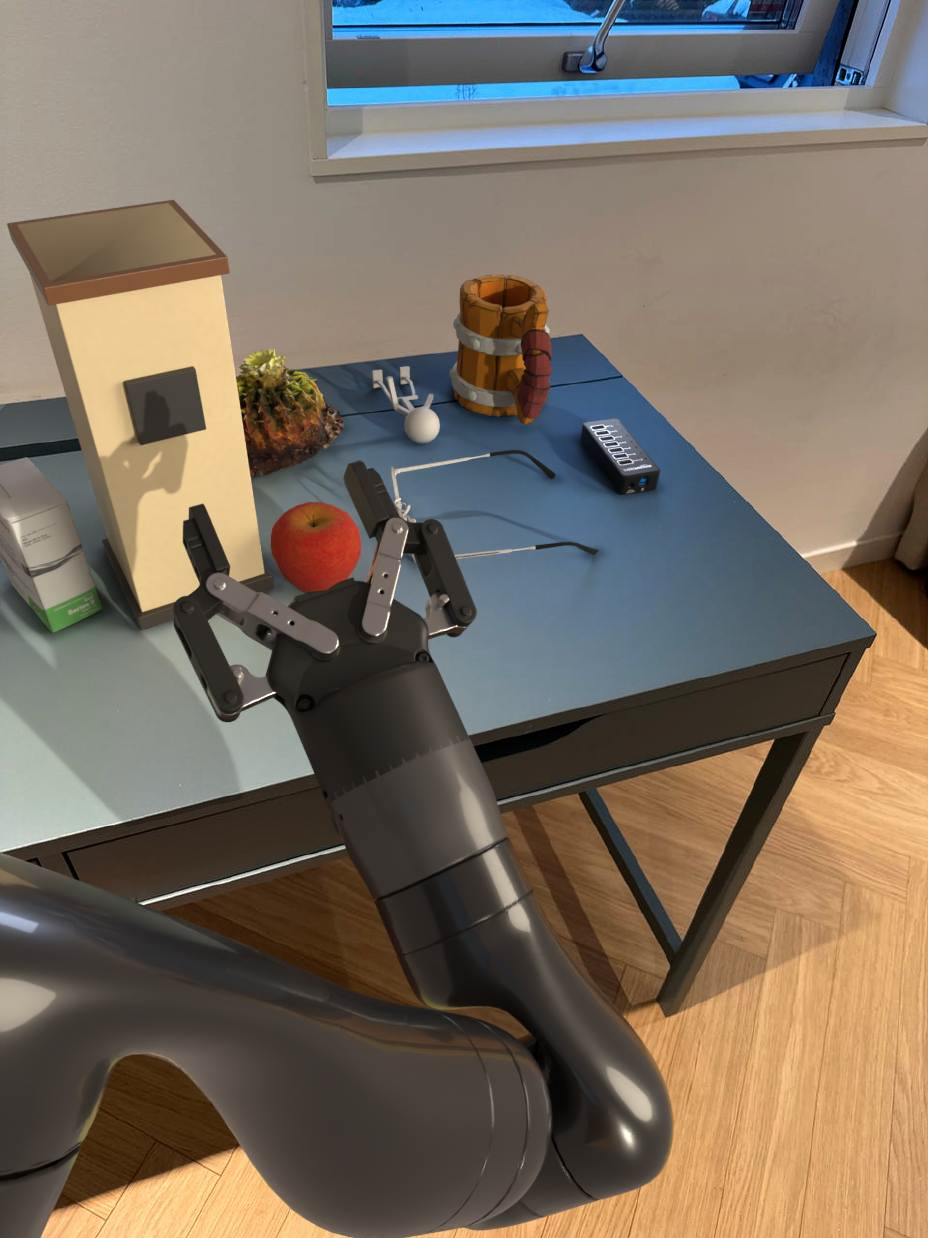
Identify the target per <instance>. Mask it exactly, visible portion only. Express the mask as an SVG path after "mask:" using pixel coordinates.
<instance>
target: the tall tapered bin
mask: <svg viewBox="0 0 928 1238" xmlns="http://www.w3.org/2000/svg"><path fill="white" fill-rule="evenodd" d="M6 226H7V229H8V232H9V236H10V239H11V242H12V243H13V245H14V247H15V248H16V251H17V252H18V254H19V256H20V258H21V259H22V261H23V263H24V265H25V266H26V269H27V270H28V272H29V276H30V279H31V282H32V286H33V289H34V292H35V296H36V298H37V303H38V307H39V310H40V313H41V316H42V320H43V324H44V326H45V329H46V333H47V336H48V340H49V344H50V347H51V350H52V354H53V357H54V361H55V364H56V367H57V370H58V374H59V377H60V381H61V384H62V388H63V391H64V395H65V398H66V401H67V404H68V408H69V412H70V415H71V419H72V422H73V424H74V428H75V432H76V435H77V440H78V442H79V446H80V449H81V452H82V457H83V459H84V463H85V467H86V470H87V473H88V476H89V480H90V483H91V486H92V490H93V494H94V497H95V501H96V503H97V507H98V510H99V514H100V518H101V521H102V525H103V528H104V531H105V534H106V537H107V538H103V539H102V540H101V543H102V546H103V549H104V553H105V554H106V557H107V559H108V561H109V564H110V566H111V567H112V570H113V572H114V574H115V576H116V578H117V582H118V583H119V585H120V587H121V590H122V592H123V594H124V596H125V598H126V601H127V603H128V605H129V607H130V609H131V612H132V614H133V616H134V619H135V620H136V622H137V624H138V627H139V630H141V631H144V630H147V629H151V628H154V627H156V626H160V625H163V624H166V623H169V622H174V618H175V616H174V603H175V602H176V600H177V599H179V598H180V597H183V596H188V595H189V594H191V593H192V592H193V591H195V590H196V589H197V588H198V587H199V585H200V584H199V581H198V579H197V576H196V574H195V571H194V569H193V567H192V564H191V562H190V559H189V557H188V554H187V552H186V549H185V547H184V545H183V521H184V520H188V519H189V507H192V506H195V505H199V504H204V505H205V507H206V509H207V512H208V514H209V517H210V519H211V521H212V524H213V526H214V528H215V531H216V533H217V536H218V538H219V540H220V543H221V545H222V548H223V550H224V552H225V555H226V557H227V559H228V562H229V564H230V573H229V577H231V578H233V579H235V580H236V581H238V582H240V583H241V584H243V585H245V586H246V587H248V588H250V589H251V590H253V591H255V592H262V593H263V592H265V591H268V590H272V589H274V587H275V586H274V579H273V575H272V573H271V572H270V570H269V568H268V567H267V565H266V564H265V562H264V560H263V554H262V553H263V552H262V546H261V540H260V539H261V538H260V532H259V525H258V518H257V511H256V505H255V498H254V492H253V486H252V479H251V474H250V470H249V463H248V457H247V450H246V443H245V436H244V429H243V423H242V416H241V409H240V402H239V396H238V389H237V382H236V380H237V377H236V369H235V362H234V356H233V348H232V342H231V334H230V329H229V321H228V315H227V308H226V301H225V294H224V288H223V280H222V276H223V275H229V274H230V273H231V271H230V263H229V258H228V255H227V254H225V252H224V251H223V250H222V249H221V248H220V247H219V246H218V244H216V243H215V242H214V240H212V238H211V237H209V235H208V234H207V233H206V232H205V231H204V230H203V229H202V227H200V226H199V225H198V224H197V223H196V221H195V220H194V219H193V218H192V217H191V216H190V215H189V214H188V213H187V212H186V211H185V210H184V209H183V208H182V207H181V205H180V204H179V203H177V202H176V200H175V199H169V200H163V201H162V200H161V201H155V202H148V203H147V202H146V203H141V204H134V205H133V204H132V205H127V206H119V207H112V208H106V209H99V210H92V211H91V210H90V211H85V212H84V211H83V212H77V213H70V214H64V215H63V214H61V215H56V216H48V217H42V218H41V217H40V218H34V219H27V220H21V221H13V222H7V223H6Z"/></svg>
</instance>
